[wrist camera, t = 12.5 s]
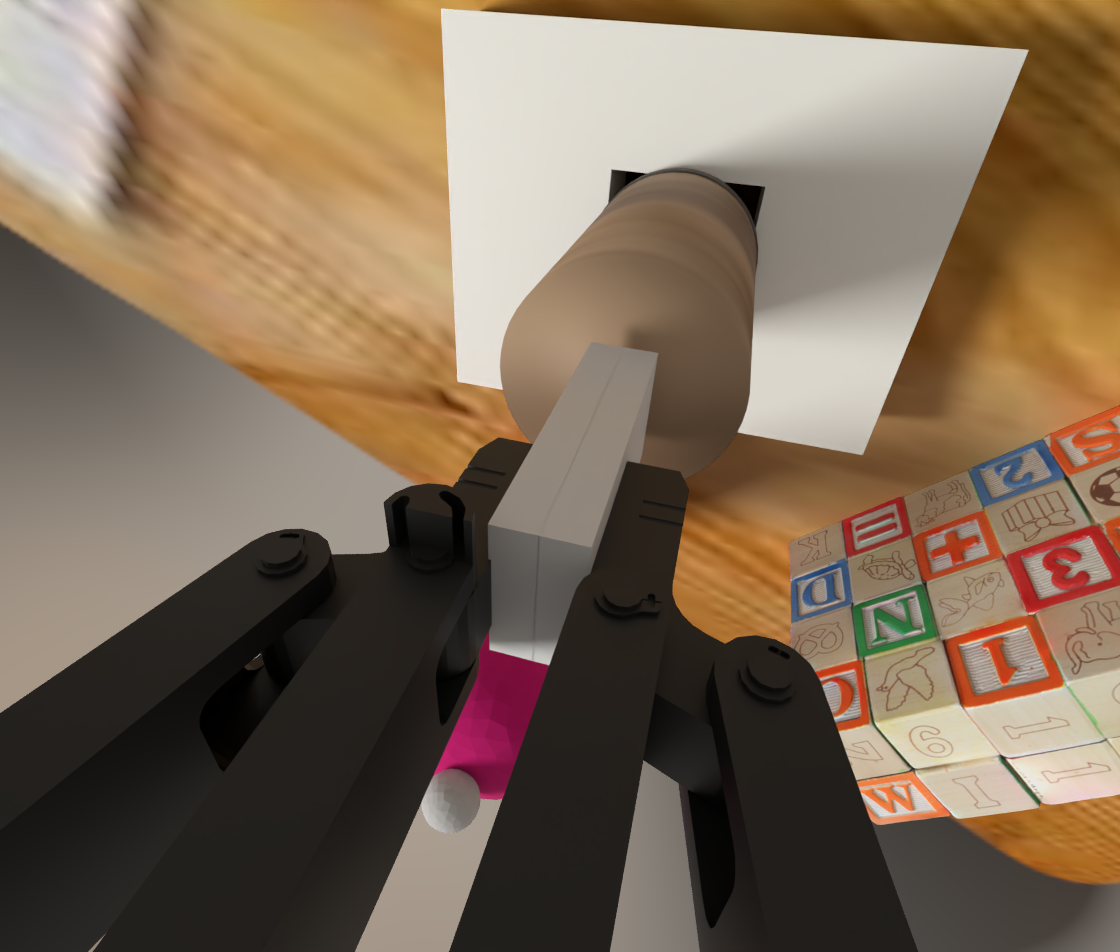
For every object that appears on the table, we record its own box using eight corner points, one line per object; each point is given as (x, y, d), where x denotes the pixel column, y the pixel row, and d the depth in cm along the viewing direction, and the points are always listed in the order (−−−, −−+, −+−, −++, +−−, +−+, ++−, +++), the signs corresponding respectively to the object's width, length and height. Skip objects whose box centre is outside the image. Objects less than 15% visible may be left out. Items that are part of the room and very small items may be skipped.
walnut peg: (617, 145, 25) (497, 237, 14) (776, 161, 24) (784, 277, 13) (602, 295, 28) (498, 465, 17) (740, 316, 27) (722, 511, 16)
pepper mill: (653, 403, 31) (538, 782, 16) (658, 518, 35) (571, 913, 20) (516, 402, 33) (293, 735, 18) (536, 511, 37) (368, 862, 22)
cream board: (478, 10, 24) (441, 8, 21) (994, 47, 21) (1029, 49, 18) (484, 351, 32) (457, 381, 29) (853, 414, 29) (862, 455, 26)
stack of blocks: (1329, 310, 22) (1756, 525, 13) (1379, 437, 24) (1788, 710, 15) (785, 541, 34) (792, 745, 24) (846, 615, 36) (875, 833, 26)
